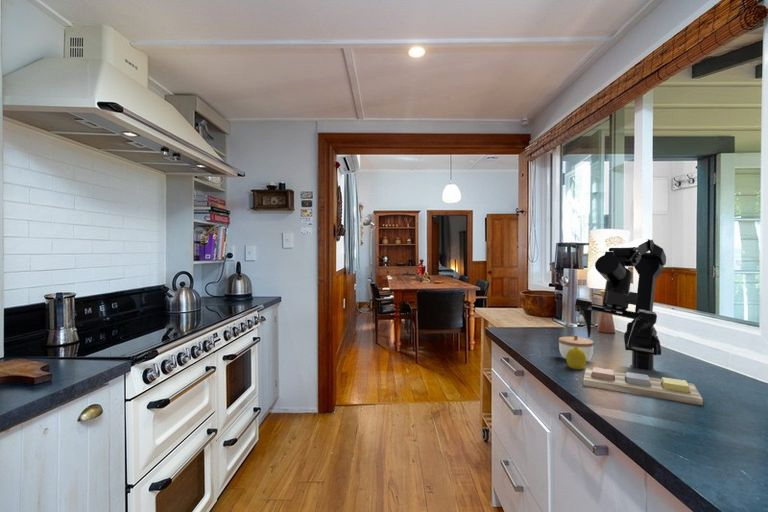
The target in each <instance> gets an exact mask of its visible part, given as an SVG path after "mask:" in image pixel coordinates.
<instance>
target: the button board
mask: <svg viewBox="0 0 768 512" xmlns="http://www.w3.org/2000/svg"><path fill="white" fill-rule="evenodd" d="M592 371H593V368H589V367H586V368H585V371H584V376H583V383H582V384H583V386H587V387H592V388H593V387H594V388H598V389H599V388H600V389H605V390H610V391H617V392H623V393H628V394H634V395H639V396H645V397H651V398H656V399H663V400H669V401H675V402H679V403H687V404H693V405H699V406H703V404H704V403H703V402H704V401H703V400H704V399H703V396H702V395H701V394H700V392H699V391H698V388H696V386H695V384H694V383H690V382H689V383H688V382H687V383H688V385H689V393H687V392H681V391H674V390H668V389H663V388H662V378H656V377H650V376H649V379H650V387H649V386H643V385H637V384H631V383H626V373H622V372H616V371H614V381H612V380H605V379H599V378H593V377H592Z"/></svg>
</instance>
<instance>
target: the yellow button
mask: <svg viewBox="0 0 768 512" xmlns="http://www.w3.org/2000/svg"><path fill="white" fill-rule="evenodd" d="M661 379H662V388H663V389H668V390H674V391H681V392H687V393H689V385H688V382H687V380H684V379H677V378H670V377H663V376H662V377H661Z"/></svg>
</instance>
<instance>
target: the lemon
mask: <svg viewBox="0 0 768 512" xmlns="http://www.w3.org/2000/svg"><path fill="white" fill-rule="evenodd" d="M565 360H566V364H567V366H568V368H570V369H572V370H573V369H574V370H583V369H585V367H586V365H587V361H586V356H585V354H584V352H583V351H582V350H581V349H579V348H578V347H575V348H572V349H570V350H569V351H568V353H567V357H566V359H565Z"/></svg>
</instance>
